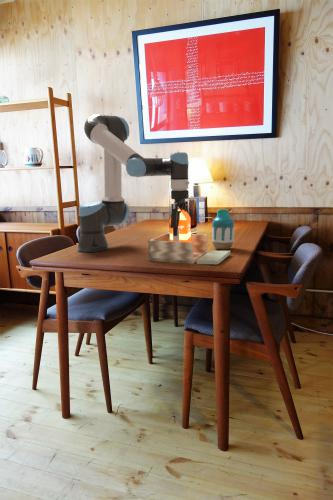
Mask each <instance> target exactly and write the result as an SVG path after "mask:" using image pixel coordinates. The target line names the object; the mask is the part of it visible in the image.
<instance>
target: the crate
mask: <svg viewBox="0 0 333 500" xmlns="http://www.w3.org/2000/svg"><path fill="white" fill-rule="evenodd" d="M147 244H148V245H147V246H148V261H149V262H162V263H163V262H165V263H175V264H188V265H194V263H197V260H198V259H199V258H201V257H202V256H204V255H205V254H207V253H208V234H199V233H198V234H195V233H191V242H174V241H170V232H166V233H164V234H161V235H158V236H155V237H154V238H152V239H149V240H147Z"/></svg>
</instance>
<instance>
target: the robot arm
mask: <svg viewBox="0 0 333 500" xmlns="http://www.w3.org/2000/svg"><path fill="white" fill-rule="evenodd" d="M83 129H84V133H85V136H86V137H87V138H88V140H90V142H92V143H93V144H95V145H99V147H101V148H102V149H103V159H104V161H103V165H104V166H103V167H104V168H103V169H104V170H103V173H104V196H103V198H101V201H90V202H84V203H82V204H80V205H79V207H78V219H79V220H78V221H79V231H80V234H79V235H80V236H79V240H78V243H77V251H79V252H83V253H97V252H103V251H107V250H108V249H109V247H110V246H109V242H108V240H107V239H108V238H107V236H106V234H105V227H110V226H120V225H123V224H124V223H126V221H127V220H128V218H129V216H130V208H129V206H128V203H127V202H125V198H124V197H123V196H122V192H123V191H122V165H124V166H125V171H126V172H127V174H128V175H129V177H133V178H134V177H135V178H141V177H158V176H159V177H163V176H165V177H166V176H170V189H171V190H170V199H171V200H174V202H173V203H171V205H170V206H171V208H170V209H171V213H170V214H171V215H170V219H171V223H170V222H169V229H170V228H173V241H174V242H179V228H178V226H179V220H180V213H181V211H182V210H184V211H185V212H187V213H188V214H189V215H190V211H189V201H188V199H189V195H190V194H189V192H190V191H189V184H190V181H189V163H190V162H189V157H188V156H189V155H188V153H187V152H183V151H181V152H171V153H170V155H169V157H155V158H151V157H143V155H142V156H141V155H140V154H139V153H138V152H137V151H136V150H134V149H133V148H131V147H130V146H129V145H128V144H126V143H125V142H126V141H127V140H128V139H129V138H128V137H130V126H129V124H128V122H127V120H126V119H125V118H123V117H122V116H118V115H106V114H93V115H90V116H89V117H88V118H87V119H86V120H85V122H84V126H83ZM178 207H179V208H180V210H181V211H178V209H179V208H178Z"/></svg>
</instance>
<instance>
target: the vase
mask: <svg viewBox="0 0 333 500" xmlns="http://www.w3.org/2000/svg"><path fill="white" fill-rule="evenodd" d="M211 223H212V224H211V241H212V245H213V247H214V248H215V249H216V250H219V251H227V250H229V249H231V248H232V247H233V245H234V241H235V222H234V219H233V218H232V217H231V216H230V209H225V208H221V209H217V212H216V216H215V218H213V219H212V222H211Z"/></svg>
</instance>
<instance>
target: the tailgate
mask: <svg viewBox="0 0 333 500" xmlns="http://www.w3.org/2000/svg"><path fill="white" fill-rule="evenodd" d="M230 255H231V250H210V251H207V254H205V255H204V256H202V257H201V258H199V259H198V260H197V261H196V265H219V264H220V263H222V262H223V261H224V260H225V259H226V258H227V257H229V256H230Z"/></svg>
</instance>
